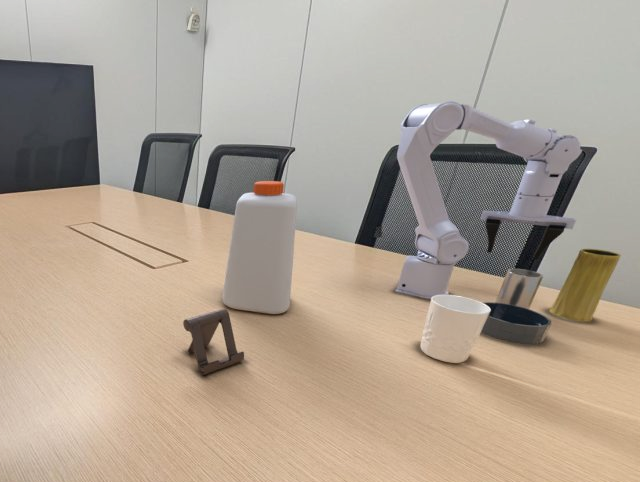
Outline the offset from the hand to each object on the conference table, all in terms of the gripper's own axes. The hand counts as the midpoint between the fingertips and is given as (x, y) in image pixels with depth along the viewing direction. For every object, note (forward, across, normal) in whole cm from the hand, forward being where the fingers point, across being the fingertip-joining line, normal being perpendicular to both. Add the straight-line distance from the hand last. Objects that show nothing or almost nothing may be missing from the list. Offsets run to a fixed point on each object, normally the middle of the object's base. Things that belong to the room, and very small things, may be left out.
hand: (511, 254), depth 86 cm
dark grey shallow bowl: (+10, -3, +22) cm, 24 cm away
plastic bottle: (+10, +40, +42) cm, 59 cm away
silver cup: (+10, -3, +9) cm, 14 cm away
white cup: (+10, +4, +40) cm, 41 cm away
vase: (+11, -12, +4) cm, 16 cm away
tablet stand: (+10, +33, +71) cm, 79 cm away
